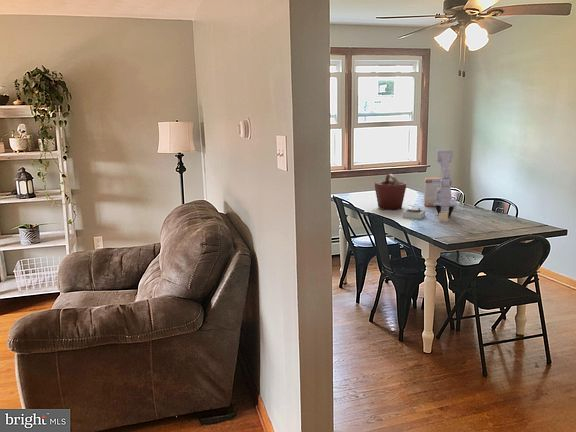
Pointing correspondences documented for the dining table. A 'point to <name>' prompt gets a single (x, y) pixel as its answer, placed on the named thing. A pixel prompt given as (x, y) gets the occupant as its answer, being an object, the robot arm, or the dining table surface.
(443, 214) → the carton
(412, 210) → the metal block
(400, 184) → the bucket
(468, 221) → the dining table surface
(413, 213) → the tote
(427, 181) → the cracker box
